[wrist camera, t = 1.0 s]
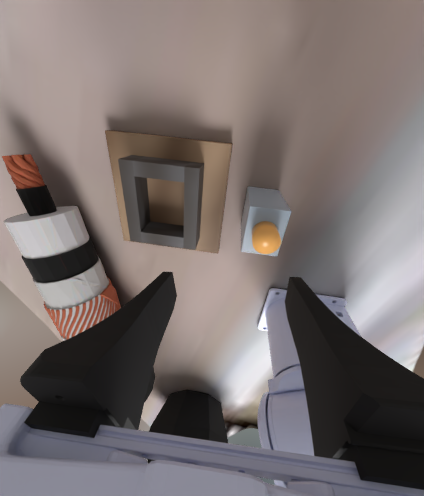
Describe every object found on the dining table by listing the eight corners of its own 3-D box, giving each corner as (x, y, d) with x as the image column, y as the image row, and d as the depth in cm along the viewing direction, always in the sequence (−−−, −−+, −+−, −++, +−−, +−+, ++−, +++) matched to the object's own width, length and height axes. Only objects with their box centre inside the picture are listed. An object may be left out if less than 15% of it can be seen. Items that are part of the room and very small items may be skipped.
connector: (279, 190, 19) (296, 219, 13) (269, 227, 21) (280, 267, 15) (247, 186, 19) (251, 213, 13) (240, 223, 21) (241, 261, 16)
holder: (232, 143, 18) (230, 147, 15) (218, 248, 23) (215, 266, 20) (111, 130, 18) (86, 131, 15) (127, 236, 24) (112, 252, 21)
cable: (89, 152, 24) (63, 146, 15) (152, 349, 38) (157, 405, 29) (-16, 161, 21) (-123, 161, 12) (94, 369, 36) (81, 438, 27)
